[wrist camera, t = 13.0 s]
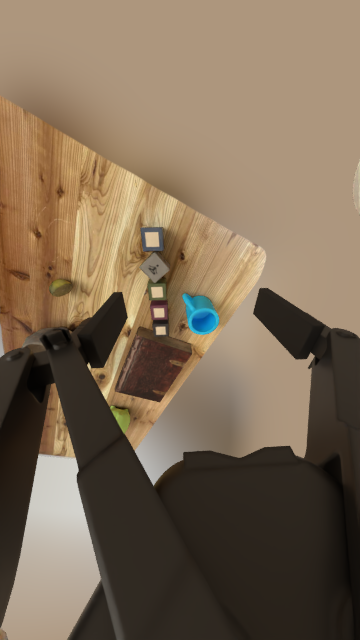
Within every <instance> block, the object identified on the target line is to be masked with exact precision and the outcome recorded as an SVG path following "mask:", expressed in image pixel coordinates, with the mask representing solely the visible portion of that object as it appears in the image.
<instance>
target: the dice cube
mask: <svg viewBox="0 0 360 640" xmlns="http://www.w3.org/2000/svg"><path fill="white" fill-rule="evenodd" d="M139 268H140V269H141V270H142V271H143V272H144V273H145V274H146V275H147V276H148V277H149V278H150V279H151V280H152V281H153V282H154V283H156V282H157V281H158V280H159V279H160V278H161V277H162V276H163V275H164V274H166V273H167V272H168V271H169V270H170V264H169V263H168V262H167V261H166V260H165V259H164V257H163V256H162V255H161V254H160V253H159V252H158V251H154V252H153V253H152V254H151V255H150V256H149V257H148V258H147V259H146V260H145V261H144V262H143V263H142V265H141V266H140V267H139Z"/></svg>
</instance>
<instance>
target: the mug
mask: <svg viewBox="0 0 360 640" xmlns="http://www.w3.org/2000/svg"><path fill="white" fill-rule="evenodd" d="M182 297H183V300H184V302H185V303H186V313H187V319H188V325H189V328H190V329H191V331H193V332H194V333H196V334H200V335H204V334H209V333H211V332H212V331H214V330H215V329H216V328H217V326H218V324H219V316H218V314H217V312H216V310H215V308H214V307H213V305H212V303H211V301H210V300H209V299H208V298H207V297H205V296H196V297H193V298H191V297H190V296H189V295H188V294H186V293H184V294H183V296H182Z"/></svg>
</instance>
